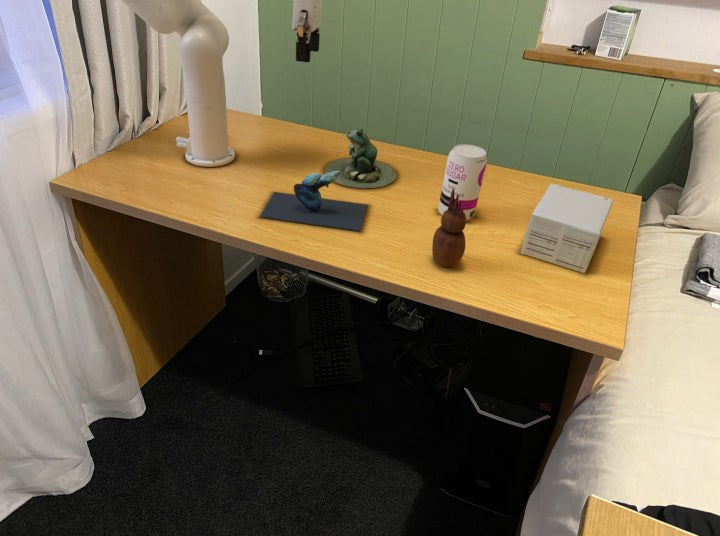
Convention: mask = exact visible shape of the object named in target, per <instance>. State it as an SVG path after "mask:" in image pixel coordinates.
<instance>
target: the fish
mask: <svg viewBox="0 0 720 536" xmlns="http://www.w3.org/2000/svg"><path fill="white" fill-rule="evenodd" d="M339 175H340V171H333V172H330V173H326V174H325V173H324V174H321V173H320V172H311V173H309V174H308V175H306V176H305V177H304V179H303V180H302V181H301V183H295V184H294V185H293V190H294V195H296V197H297V199H298V200H299V201H300V202H301V203H302V204H303V205H304V206H306V207H307V208H308V209H309V210H311V211H318V210H319V209H320V208H321V198H322V193H321V191H320V189H321V188H323V187H326V188H327V189H329V187H330V186H329V185H331V184H333V183H335V182H334V181H335V180H336V178H337V177H338V176H339Z"/></svg>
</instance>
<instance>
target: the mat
mask: <svg viewBox="0 0 720 536" xmlns="http://www.w3.org/2000/svg"><path fill="white" fill-rule="evenodd" d="M367 209H368V204H367V203H359V202H352V201H344V200H336V199H330V198H329V199H328V198H323V197H321V208H320V209H319V210H318V211H311V210H309V209H308V208H307V207H306V206H304V205H303V204H302V203H301V202H300V201H299V200H298V199H297V197H296V195H295V194H291V193H285V192H284V193H283V192H277V191H274V192H273V193H272V195H271V197H270V198H269V200H268V201H267V204H266V205H265V207H264V209H263V210H262V212H261V214H260V216H259V218H260V219H267V220H272V221H280V222H288V223H295V224H302V225H308V226H315V227H322V228H328V229H329V228H330V229H338V230H342V231H351V232H359V233H360V232H361V230H362V226H363V223H364V218H365V215H366V212H367Z"/></svg>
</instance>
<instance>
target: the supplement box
mask: <svg viewBox="0 0 720 536" xmlns="http://www.w3.org/2000/svg"><path fill="white" fill-rule="evenodd" d="M539 200H540V201H539V202H538V204H537V205H536V207H535V209H534V210H533V212H532V213H531V216H530V219H529V222H528V225H527V227H526V232H525V235H524V239H523V243H522V246H521V250H520V254H521V255H524V256H528V257H531V258H534V259H538V260H541V261H544V262H547V263H551V264H554V265H557V266H560V267H563V268H567V269H570V270H572V271H576V272H579V273H582V274H585V273H586V271H587V269H588V267H589V265H590V262H591V260H592V257H593V255H594V253H595V250H596V248H597V246H598V243H599V241H600V238H601V235H602V232H603V230H604V226H605V225H606V221H607V218H608V216H609V214H610V211H611V209H612V205H613V203H614V201H615V200H614V199H613V198H610V197H606V196H602V195H599V194H594V193H591V192H586V191H583V190H579V189H575V188H571V187H567V186H564V185H560V184H556V183H550V184H549V186H548V187H547V189H546V191H545V192H544V194H543V195H542V197H541V198H540V199H539Z"/></svg>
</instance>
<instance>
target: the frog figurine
mask: <svg viewBox="0 0 720 536" xmlns="http://www.w3.org/2000/svg"><path fill="white" fill-rule="evenodd" d="M345 137H346V138H347V139H348V140H349V142H350V143H349V144H348V145H347V148H348V149H349V152H348V154H349V156H351V158H342V159H338V160H335V161H332V162H331V163H329V164H327V165H326V167H325V168H324V174H326V173H330V172H333V171H340V175H339V176H338V177H337V178H336V180H335V181H334V182H333V183H336V184H339V185H341V186H345V187H349V188H356V189H357V188H358V189H376V188H383V187H385V186H387V185H390V184H392V183H393V182H394V181H395V180H396V178H397V173H396V171H395V169H393V168H392V167H391V166H390V165H388V164H386V163H383V162H381V161H378V160H377V157H378V148H377V146H375V145H374V143H372V142H371V140H370V138H369V136H368V135H367V134H366V133H365V132H364V129H363V127H358V128H357V129H355V130H353V129H352V130H349V131H346V134H345Z"/></svg>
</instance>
